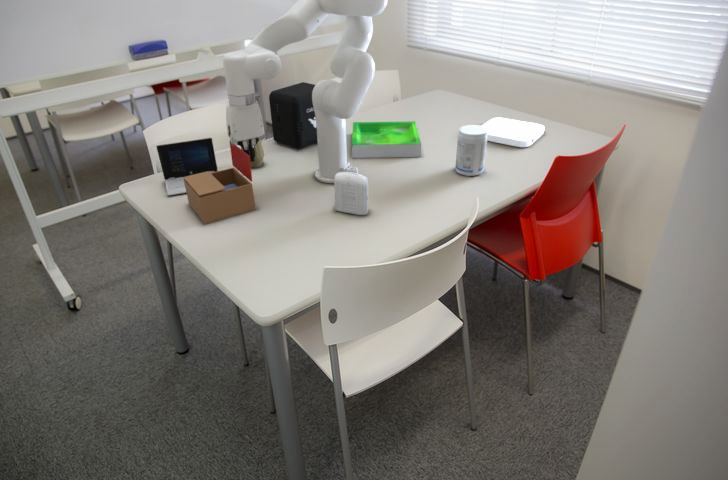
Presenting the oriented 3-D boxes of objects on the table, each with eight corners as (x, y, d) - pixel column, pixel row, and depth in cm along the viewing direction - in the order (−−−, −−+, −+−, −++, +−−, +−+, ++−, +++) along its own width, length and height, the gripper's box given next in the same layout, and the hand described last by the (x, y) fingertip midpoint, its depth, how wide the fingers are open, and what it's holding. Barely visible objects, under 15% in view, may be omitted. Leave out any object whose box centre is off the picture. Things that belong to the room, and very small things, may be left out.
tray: (420, 156, 186) (421, 143, 184) (352, 157, 187) (351, 144, 184) (414, 133, 207) (415, 121, 204) (353, 134, 208) (353, 122, 205)
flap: (232, 165, 160) (233, 165, 160) (251, 181, 150) (252, 181, 150) (229, 141, 156) (230, 141, 156) (248, 156, 145) (249, 156, 146)
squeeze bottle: (260, 170, 180) (254, 119, 169) (239, 168, 181) (231, 118, 171) (268, 161, 186) (262, 112, 176) (247, 160, 188) (240, 111, 177)
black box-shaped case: (298, 152, 193) (294, 99, 181) (273, 143, 201) (267, 92, 190) (335, 137, 205) (333, 86, 194) (309, 130, 213) (306, 80, 202)
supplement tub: (473, 163, 180) (478, 123, 172) (488, 174, 172) (494, 131, 164) (449, 168, 177) (453, 126, 169) (463, 178, 170) (468, 136, 162)
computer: (493, 122, 216) (494, 116, 214) (545, 132, 205) (547, 125, 203) (471, 138, 201) (472, 131, 200) (526, 149, 190) (527, 142, 189)
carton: (237, 191, 166) (233, 164, 160) (255, 209, 155) (251, 181, 150) (189, 204, 159) (182, 177, 153) (205, 224, 148) (198, 195, 143)
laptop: (167, 197, 163) (158, 158, 156) (165, 182, 173) (155, 145, 166) (224, 187, 168) (217, 149, 161) (218, 173, 178) (211, 137, 171)
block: (236, 197, 161) (234, 183, 158) (242, 203, 157) (240, 189, 154) (221, 201, 159) (218, 187, 156) (227, 208, 155) (224, 193, 152)
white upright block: (370, 210, 153) (370, 172, 146) (365, 217, 149) (365, 178, 142) (338, 205, 156) (337, 167, 149) (333, 211, 153) (331, 173, 146)
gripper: (260, 92, 150) (267, 151, 160) (212, 100, 144) (222, 161, 154) (271, 98, 145) (277, 159, 155) (221, 107, 138) (231, 170, 149)
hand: (250, 160), depth 155 cm, fingers closed
